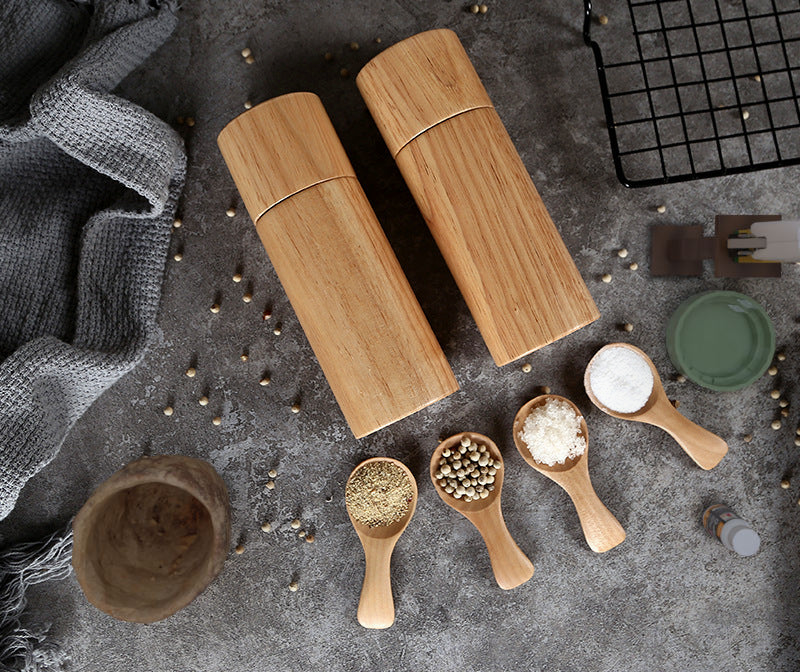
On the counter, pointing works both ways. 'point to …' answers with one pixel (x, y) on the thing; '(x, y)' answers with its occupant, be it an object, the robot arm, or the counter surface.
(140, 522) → the brown pot
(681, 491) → the counter surface
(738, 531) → the pill bottle
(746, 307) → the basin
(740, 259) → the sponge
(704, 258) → the stand
